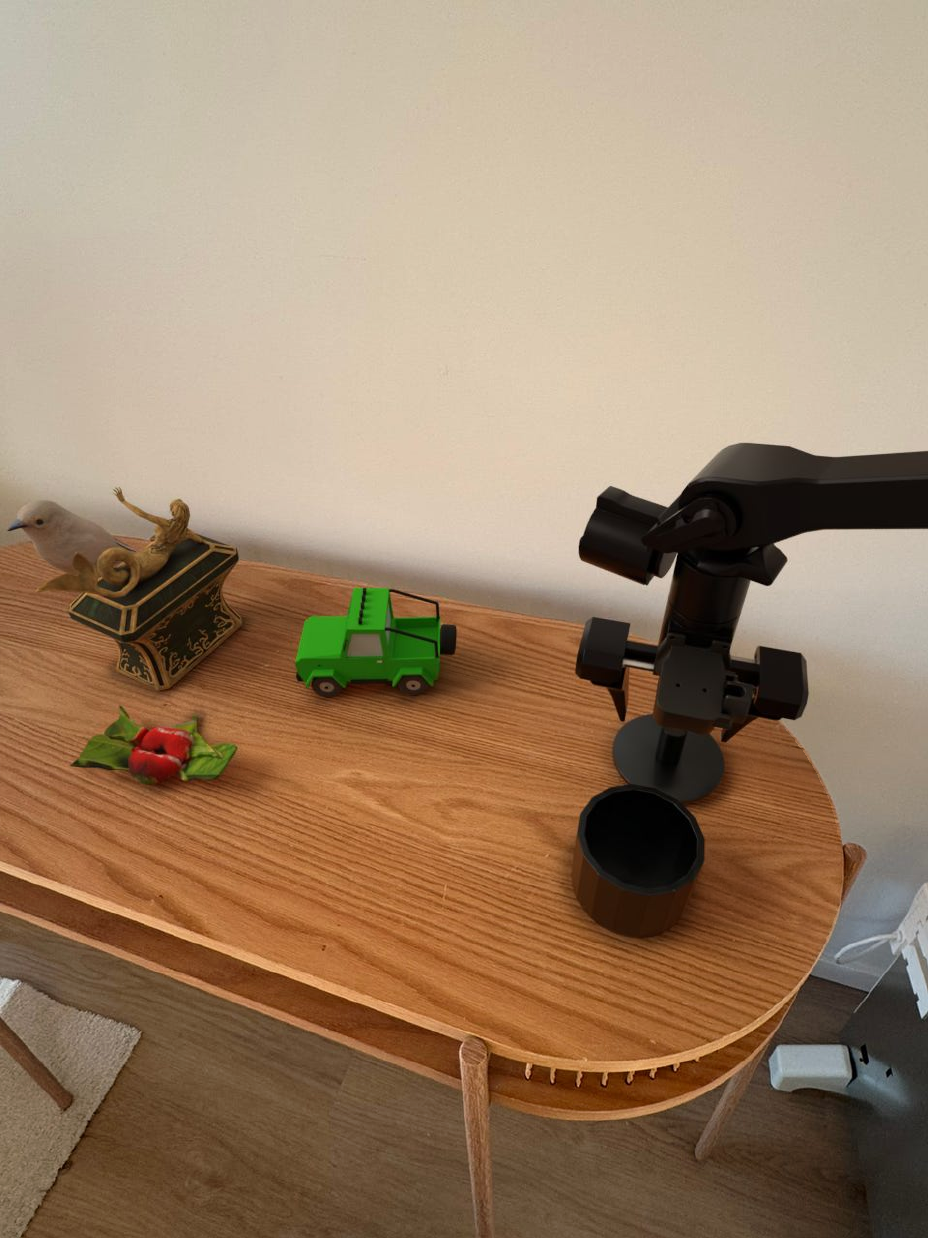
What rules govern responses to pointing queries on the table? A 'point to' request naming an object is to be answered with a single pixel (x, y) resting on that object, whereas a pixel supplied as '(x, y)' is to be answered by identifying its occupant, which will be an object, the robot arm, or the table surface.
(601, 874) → the pot
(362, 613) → the toy car
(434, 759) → the table surface
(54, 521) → the bird
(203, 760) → the decorative ornament
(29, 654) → the table surface
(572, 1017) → the table surface
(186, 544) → the decorative box
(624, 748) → the lid
